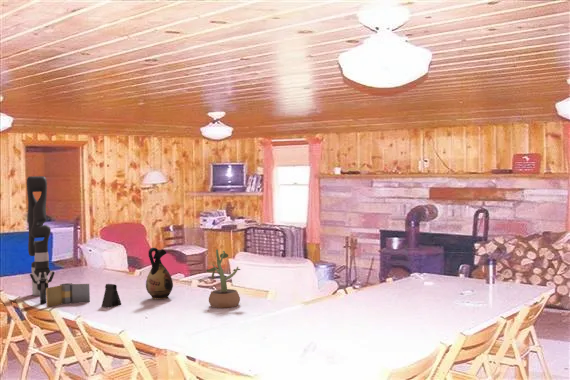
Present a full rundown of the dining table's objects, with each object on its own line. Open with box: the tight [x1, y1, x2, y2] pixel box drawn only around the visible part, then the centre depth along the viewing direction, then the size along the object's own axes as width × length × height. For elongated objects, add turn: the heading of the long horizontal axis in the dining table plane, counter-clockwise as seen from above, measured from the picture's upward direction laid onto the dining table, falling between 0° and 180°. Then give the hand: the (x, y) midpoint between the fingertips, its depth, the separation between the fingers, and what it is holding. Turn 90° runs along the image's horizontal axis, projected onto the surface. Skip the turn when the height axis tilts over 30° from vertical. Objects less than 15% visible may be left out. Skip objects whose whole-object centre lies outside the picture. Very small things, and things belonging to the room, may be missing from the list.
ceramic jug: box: [145, 247, 174, 300], centre depth 363 cm, size 17×15×30 cm
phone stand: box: [101, 283, 122, 309], centre depth 346 cm, size 9×6×12 cm, turn 146°
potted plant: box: [205, 249, 242, 309], centre depth 342 cm, size 22×18×30 cm
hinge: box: [46, 282, 91, 308], centre depth 356 cm, size 10×23×10 cm, turn 118°
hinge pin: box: [39, 278, 47, 305], centre depth 358 cm, size 4×4×14 cm
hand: (42, 289), depth 358 cm, fingers closed on hinge pin, 3 cm apart
